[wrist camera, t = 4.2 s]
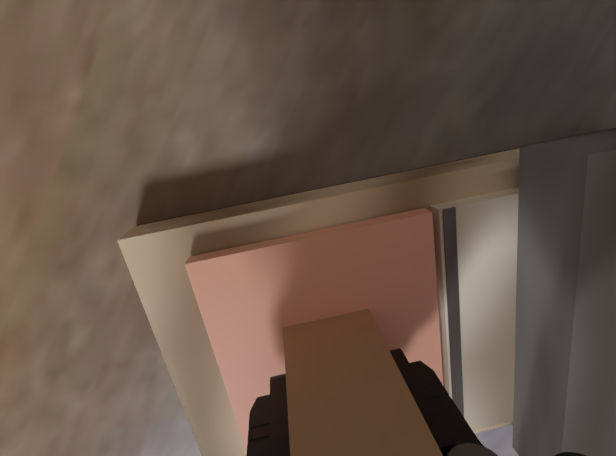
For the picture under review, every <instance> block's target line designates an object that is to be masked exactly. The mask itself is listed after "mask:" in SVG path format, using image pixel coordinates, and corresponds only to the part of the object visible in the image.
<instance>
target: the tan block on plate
mask: <svg viewBox="0 0 616 456" xmlns="http://www.w3.org/2000/svg"><path fill="white" fill-rule="evenodd" d="M184 265H185V268H186V271H187V274H188V277H189V280H190V283H191V286H192V289H193V292H194V295H195V298H196V301H197V304H198V307H199V310H200V313H201V316H202V319H203V322H204V325H205V328H206V331H207V334H208V337H209V340H210V343H211V346H212V349H213V352H214V355H215V358H216V361H217V364H218V367H219V370H220V373H221V376H222V379H223V382H224V385H225V388H226V391H227V394H228V397H229V400H230V403H231V406H232V409H233V412H234V415H235V418H236V421H237V424H238V427H239V430H240V433H241V436H242V439H243V442H244V445H245V448H246V451H247V444H248V431H249V414H250V410H251V408H252V406H253V404H254V402H255V400H256V398H257V397H261V396H265V395H269V394H270V377H272V376H277V375H281V374H286V390H287V407H288V425H289V442H290V456H443V455H442V453H441V451H440V449H439V447H438V445H437V443H436V441H435V439H434V437H433V435H432V433H431V431H430V429H429V427H428V425H427V423H426V421H425V420H424V418H423V416H422V414H421V412H420V410H419V408H418V406H417V404H416V402H415V400H414V398H413V396H412V394H411V392H410V390H409V388H408V386H407V384H406V382H405V380H404V378H403V376H402V374H401V373H400V371H399V369H398V367H397V365H396V363H395V361H394V359H393V357H392V355H391V353H390V351H389V350H393V349H398V348H400V349H401V350H402V351H403V353H404V355H405V356H406V358H407V360H408V362H409V363H411V362H416V361H422V362H423V363H424V364H426V365H427V366H428V367H430V368H431V369H433V370H434V372H435V373H436V375H437V377H438V378H439V380H440V381H441V383H442V385H443V373H442V357H441V341H440V326H439V310H438V294H437V278H436V263H435V247H434V231H433V215H432V212H431V211H429V210H427V209H425V208H421V209H416V210H412V211H407V212H402V213H397V214H392V215H387V216H383V217H378V218H373V219H368V220H363V221H359V222H354V223H349V224H344V225H339V226H335V227H330V228H325V229H320V230H315V231H311V232H306V233H301V234H296V235H291V236H286V237H282V238H277V239H272V240H267V241H262V242H258V243H253V244H248V245H243V246H238V247H234V248H229V249H224V250H219V251H214V252H209V253H205V254H200V255H195V256H190V257H188V259H187V261H186V262H185V264H184Z"/></svg>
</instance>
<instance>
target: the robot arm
mask: <svg viewBox="0 0 616 456" xmlns="http://www.w3.org/2000/svg"><path fill="white" fill-rule="evenodd" d="M389 351H390V353H391V355H392V357H393V359H394V361H395V363H396V365H397V367H398V369H399V371H400V373H401V374H402V376H403V378H404V380H405V382H406V384H407V386H408V388H409V390H410V392H411V394H412V396H413V398H414V400H415V402H416V404H417V406H418V408H419V410H420V412H421V414H422V416H423V418H424V420H425V421H426V423H427V425H428V427H429V429H430V431H431V433H432V435H433V437H434V439H435V441H436V443H437V445H438V447H439V449H440V451H441V453H442V455H443V456H498V455H497V454H495V453H494V452H493V451H491V450H490V449H488V448H486V447H484V446H483V445H482V444H481V442H480V441H479V440H478V438H477V437H476V435H475V434H474V432H473V431H472V429H471V428H470V426H469V424H468V423H467V421H466V420H465V418H464V417H463V415H462V414H461V412H460V411H459V409H458V407H457V406H456V404H455V403H454V401H453V400H452V398H451V397H450V396H449V394H448V392H447V390H446V389H445V387H444V386H443V385H442V383H441V381H440V380H439V378H438V377H437V375H436V373H435V372H434V370H433V369H431V368H430V367H428V366H427V365H426V364H424V363H423V362H422V361H416V362H411V363H409V362H408V360H407V358H406V356H405V355H404V353H403V351H402V350H401V349H400V348H398V349H393V350H389ZM247 456H290V442H289V425H288V407H287V390H286V374H281V375H277V376H272V377H270V394H269V395H265V396H261V397H257V398H256V400H255V402H254V404H253V406H252V408H251V410H250V414H249V431H248V444H247ZM555 456H586V455H583V454H580V453H575V452H563V453H559V454H556V455H555Z"/></svg>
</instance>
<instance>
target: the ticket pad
mask: <svg viewBox="0 0 616 456" xmlns="http://www.w3.org/2000/svg"><path fill="white" fill-rule="evenodd" d="M421 208H425V209H427V210H429V211H431V212H432V215H433V231H434V247H435V263H436V278H437V294H438V310H439V326H440V341H441V357H442V373H443V386H444V387H445V389H446V390H447V392H448V394H449V396H450V397H451V398H452V400H453V401H454V403H455V404H456V406H457V407H458V409H459V411H460V412H461V414H462V415H463V417H464V418H465V420H466V421H467V423H468V424H469V426H470V428H471V429H472V431H473V432H474V433H478V432H482V431H486V430H491V429H495V428H499V427H503V426H507V425H512V424H513V448H514V449H515V451H516V452H517V453H518V455H519V456H555V455H556V454H559V453H563V452H575V453H580V454H583V455H586V456H616V128H612V129H607V130H602V131H597V132H593V133H588V134H583V135H578V136H573V137H568V138H563V139H558V140H553V141H548V142H543V143H538V144H533V145H528V146H523V147H520V148H518V149H513V150H508V151H504V152H499V153H494V154H489V155H484V156H479V157H474V158H469V159H464V160H459V161H454V162H449V163H444V164H439V165H434V166H430V167H425V168H420V169H415V170H410V171H405V172H400V173H395V174H390V175H385V176H380V177H375V178H370V179H365V180H360V181H355V182H351V183H346V184H341V185H336V186H331V187H326V188H321V189H316V190H311V191H306V192H301V193H296V194H291V195H286V196H281V197H277V198H272V199H267V200H262V201H257V202H252V203H247V204H242V205H237V206H232V207H227V208H222V209H217V210H212V211H207V212H203V213H198V214H193V215H188V216H183V217H178V218H173V219H168V220H163V221H158V222H153V223H148V224H143V225H138V226H135V227H134V228H132V229H131V230H130V231H128V232H127V233H126V234H125V235H123V236H122V237H121V238H120V239H118V240H117V241H118V243H119V246H120V249H121V251H122V254H123V256H124V259H125V261H126V264H127V266H128V269H129V271H130V274H131V276H132V279H133V282H134V284H135V287H136V289H137V292H138V294H139V297H140V299H141V302H142V304H143V307H144V309H145V312H146V315H147V317H148V320H149V322H150V325H151V327H152V330H153V332H154V335H155V337H156V340H157V342H158V345H159V348H160V350H161V353H162V355H163V358H164V360H165V363H166V365H167V368H168V370H169V373H170V375H171V378H172V381H173V383H174V386H175V388H176V391H177V393H178V396H179V398H180V401H181V403H182V406H183V408H184V411H185V414H186V416H187V419H188V421H189V424H190V426H191V429H192V431H193V434H194V436H195V439H196V441H197V444H198V447H199V449H200V452H201V454H202V456H247V451H246V448H245V445H244V442H243V439H242V436H241V433H240V430H239V427H238V424H237V421H236V418H235V415H234V412H233V409H232V406H231V403H230V400H229V397H228V394H227V391H226V388H225V385H224V382H223V379H222V376H221V373H220V370H219V367H218V364H217V361H216V358H215V355H214V352H213V349H212V346H211V343H210V340H209V337H208V334H207V331H206V328H205V325H204V322H203V319H202V316H201V313H200V310H199V307H198V304H197V301H196V298H195V295H194V292H193V289H192V286H191V283H190V280H189V277H188V274H187V271H186V268H185V265H184V264H185V262H186V261H187V259H188V257H190V256H195V255H200V254H205V253H209V252H214V251H219V250H224V249H229V248H234V247H238V246H243V245H248V244H253V243H258V242H262V241H267V240H272V239H277V238H282V237H286V236H291V235H296V234H301V233H306V232H311V231H315V230H320V229H325V228H330V227H335V226H339V225H344V224H349V223H354V222H359V221H363V220H368V219H373V218H378V217H383V216H387V215H392V214H397V213H402V212H407V211H412V210H416V209H421Z"/></svg>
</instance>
